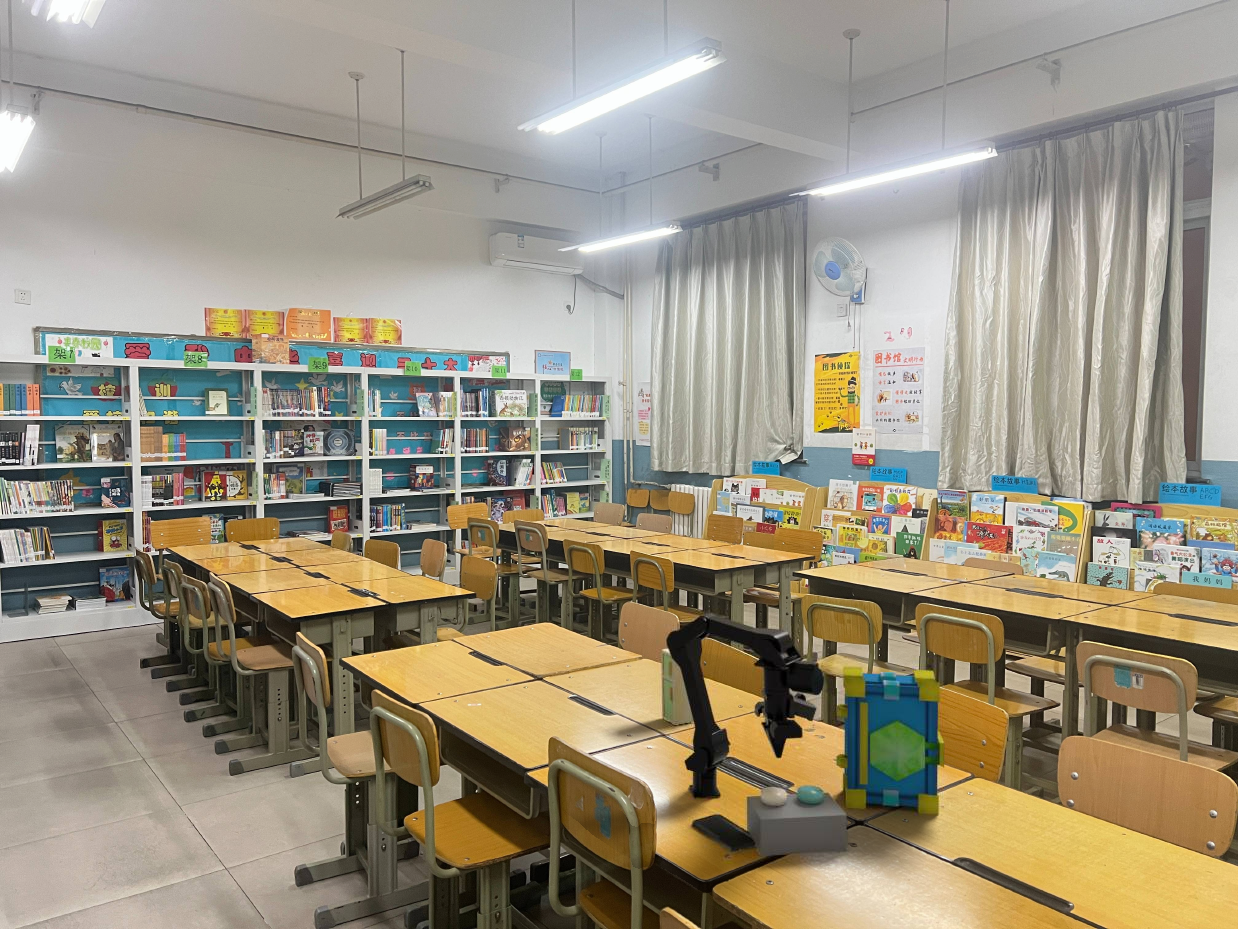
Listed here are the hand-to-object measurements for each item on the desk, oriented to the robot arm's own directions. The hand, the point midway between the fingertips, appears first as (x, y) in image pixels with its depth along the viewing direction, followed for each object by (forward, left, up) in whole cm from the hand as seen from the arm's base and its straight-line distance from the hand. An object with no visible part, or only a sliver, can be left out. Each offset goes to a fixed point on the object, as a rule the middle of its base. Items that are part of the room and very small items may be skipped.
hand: (778, 757), depth 192 cm
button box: (+12, 0, -13) cm, 18 cm away
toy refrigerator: (-65, -12, -14) cm, 68 cm away
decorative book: (-4, +27, -14) cm, 31 cm away
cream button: (+9, -4, -9) cm, 13 cm away
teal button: (+9, +4, -9) cm, 13 cm away
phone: (+7, -14, -14) cm, 21 cm away
